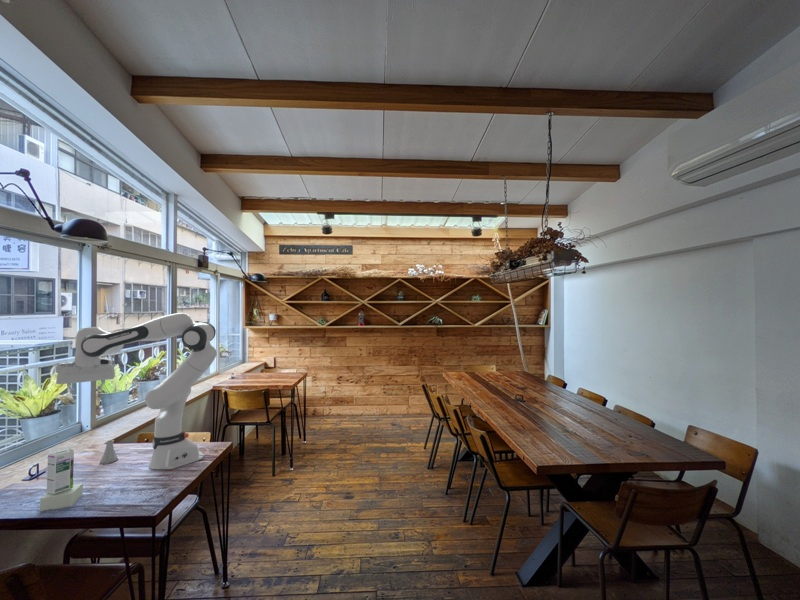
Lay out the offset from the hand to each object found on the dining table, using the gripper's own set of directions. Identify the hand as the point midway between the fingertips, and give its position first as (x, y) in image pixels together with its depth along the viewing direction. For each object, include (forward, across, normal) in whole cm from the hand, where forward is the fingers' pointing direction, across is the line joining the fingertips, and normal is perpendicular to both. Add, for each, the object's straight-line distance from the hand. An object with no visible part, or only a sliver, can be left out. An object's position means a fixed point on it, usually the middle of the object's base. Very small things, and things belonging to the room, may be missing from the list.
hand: (86, 391), depth 159 cm
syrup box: (+32, -8, -30) cm, 45 cm away
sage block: (+38, -7, -30) cm, 48 cm away
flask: (+37, +10, +8) cm, 39 cm away
